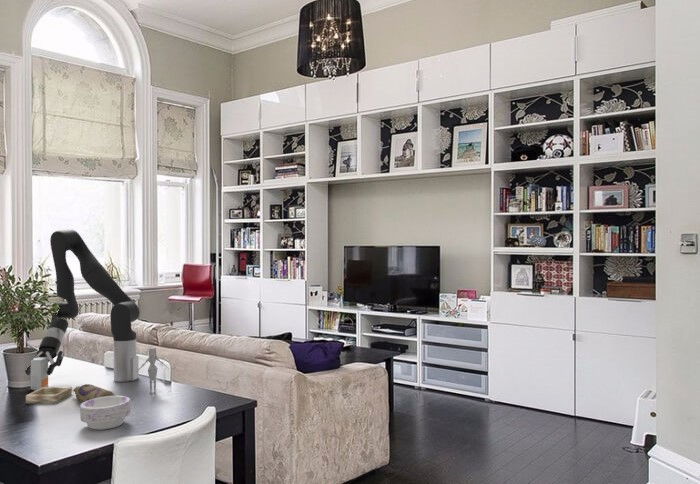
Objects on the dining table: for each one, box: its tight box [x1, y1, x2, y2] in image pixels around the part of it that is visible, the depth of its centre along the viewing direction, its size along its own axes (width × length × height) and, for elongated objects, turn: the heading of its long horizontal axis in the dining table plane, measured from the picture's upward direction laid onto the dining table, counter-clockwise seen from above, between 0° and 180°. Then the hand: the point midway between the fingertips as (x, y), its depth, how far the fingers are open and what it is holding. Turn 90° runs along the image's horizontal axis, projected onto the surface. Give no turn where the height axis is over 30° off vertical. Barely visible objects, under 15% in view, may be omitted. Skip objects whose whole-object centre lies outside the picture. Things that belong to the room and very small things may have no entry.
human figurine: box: [137, 347, 169, 395], centre depth 229 cm, size 12×4×18 cm, turn 117°
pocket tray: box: [25, 386, 73, 405], centre depth 223 cm, size 12×12×3 cm
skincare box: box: [30, 357, 49, 390], centre depth 240 cm, size 6×4×12 cm
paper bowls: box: [79, 395, 131, 431], centre depth 191 cm, size 15×15×8 cm
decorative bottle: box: [72, 383, 116, 403], centre depth 218 cm, size 26×8×7 cm, turn 47°
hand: (37, 374), depth 239 cm, fingers open, 8 cm apart
